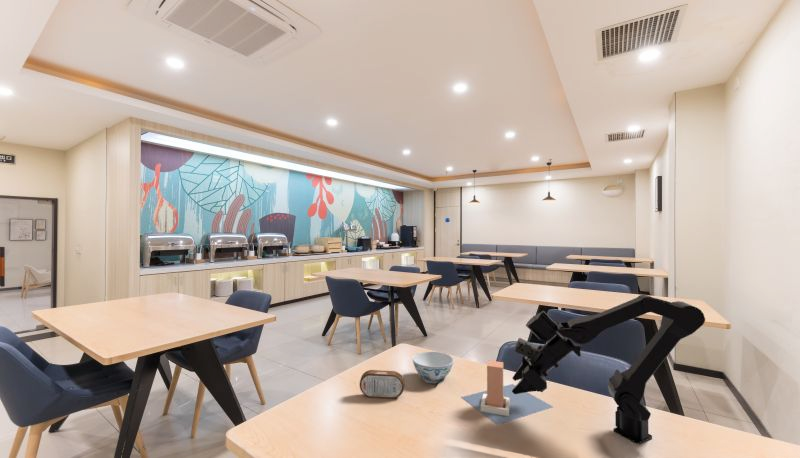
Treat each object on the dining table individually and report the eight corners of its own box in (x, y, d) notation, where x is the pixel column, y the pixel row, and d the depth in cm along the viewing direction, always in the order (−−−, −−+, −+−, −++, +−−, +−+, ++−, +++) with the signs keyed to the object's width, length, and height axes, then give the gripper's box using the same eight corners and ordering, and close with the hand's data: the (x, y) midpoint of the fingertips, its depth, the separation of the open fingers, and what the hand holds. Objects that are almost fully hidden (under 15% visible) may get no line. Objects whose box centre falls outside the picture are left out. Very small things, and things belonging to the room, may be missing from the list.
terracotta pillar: (503, 404, 102) (503, 362, 102) (502, 412, 97) (502, 367, 98) (488, 402, 103) (488, 360, 103) (487, 409, 99) (487, 365, 99)
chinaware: (405, 375, 126) (405, 355, 126) (439, 368, 132) (439, 349, 132) (425, 392, 112) (425, 369, 112) (461, 383, 118) (461, 362, 119)
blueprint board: (553, 410, 100) (553, 406, 100) (497, 429, 91) (497, 424, 91) (512, 387, 116) (512, 383, 116) (460, 400, 106) (460, 397, 106)
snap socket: (509, 402, 103) (509, 397, 103) (509, 416, 95) (508, 410, 95) (483, 398, 105) (483, 393, 105) (480, 411, 98) (480, 405, 98)
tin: (404, 395, 110) (404, 370, 110) (404, 400, 107) (404, 374, 107) (360, 393, 111) (360, 368, 112) (358, 398, 108) (358, 372, 108)
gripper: (530, 323, 106) (495, 353, 109) (532, 340, 88) (490, 376, 92) (557, 350, 103) (520, 381, 107) (565, 374, 86) (521, 409, 89)
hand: (513, 385), depth 99 cm, fingers open, 9 cm apart
